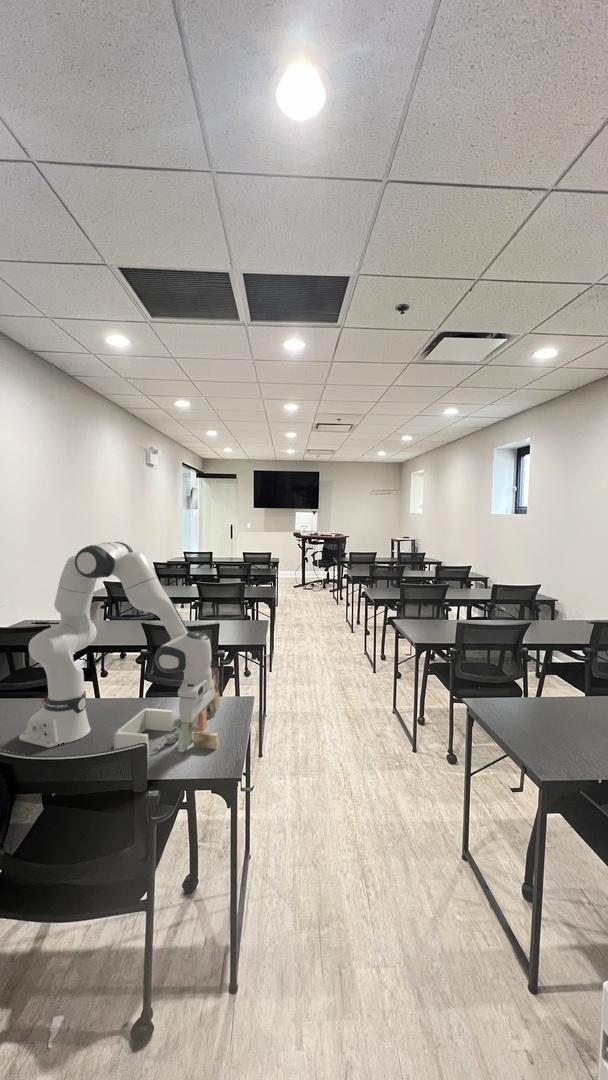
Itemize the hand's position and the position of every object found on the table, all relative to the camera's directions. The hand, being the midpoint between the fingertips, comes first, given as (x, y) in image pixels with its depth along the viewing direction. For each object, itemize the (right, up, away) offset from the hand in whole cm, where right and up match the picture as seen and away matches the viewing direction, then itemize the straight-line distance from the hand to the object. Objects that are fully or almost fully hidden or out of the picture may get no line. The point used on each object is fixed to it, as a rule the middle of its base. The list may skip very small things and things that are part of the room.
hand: (198, 723), depth 148 cm
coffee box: (-2, -7, +26) cm, 27 cm away
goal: (-19, -8, +4) cm, 21 cm away
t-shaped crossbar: (-1, -7, +1) cm, 7 cm away
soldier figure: (-10, -8, +3) cm, 13 cm away
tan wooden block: (+2, -8, 0) cm, 8 cm away
